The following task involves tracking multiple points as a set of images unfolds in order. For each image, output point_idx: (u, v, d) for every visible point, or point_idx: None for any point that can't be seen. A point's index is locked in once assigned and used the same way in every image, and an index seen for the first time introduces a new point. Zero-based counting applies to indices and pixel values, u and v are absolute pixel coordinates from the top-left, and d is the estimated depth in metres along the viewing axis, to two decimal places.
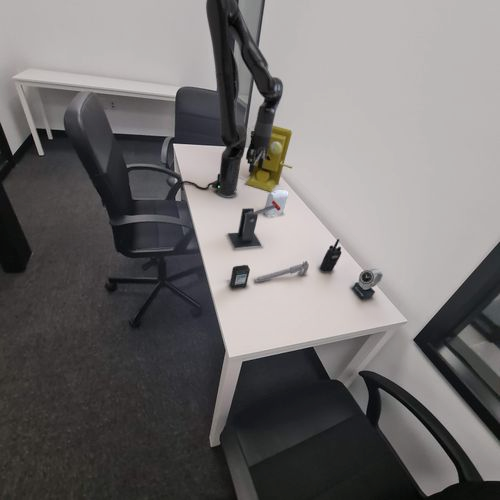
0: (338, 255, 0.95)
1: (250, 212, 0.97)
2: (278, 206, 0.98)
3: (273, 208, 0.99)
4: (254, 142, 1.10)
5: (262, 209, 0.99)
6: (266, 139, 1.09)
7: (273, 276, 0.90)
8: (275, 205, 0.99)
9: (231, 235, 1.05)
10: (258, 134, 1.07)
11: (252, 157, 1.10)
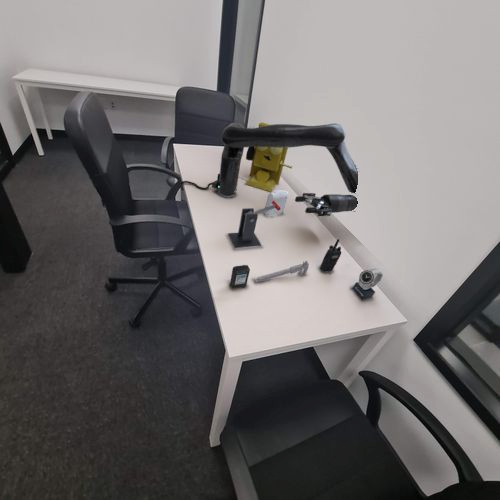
0: (338, 255, 0.95)
1: (250, 212, 0.97)
2: (278, 206, 0.98)
3: (273, 208, 0.99)
4: (332, 205, 1.05)
5: (262, 209, 0.99)
6: (330, 212, 1.10)
7: (273, 276, 0.90)
8: (275, 205, 0.99)
9: (231, 235, 1.05)
10: (339, 208, 1.07)
11: (325, 214, 1.02)
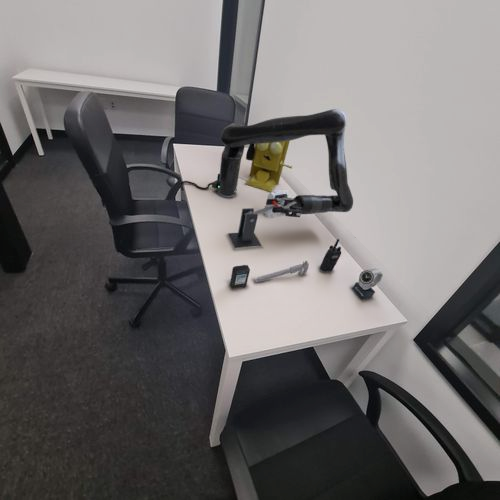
0: (338, 255, 0.95)
1: (250, 212, 0.97)
2: (278, 206, 0.98)
3: None
4: (305, 206, 1.00)
5: (262, 209, 0.99)
6: None
7: (273, 276, 0.90)
8: (275, 205, 0.99)
9: (231, 235, 1.05)
10: (312, 209, 1.02)
11: (293, 215, 0.97)
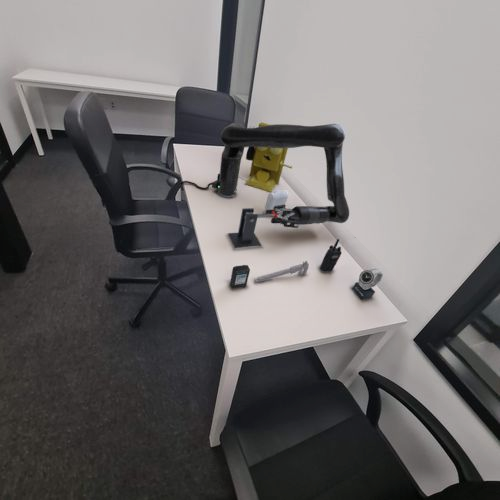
0: (338, 255, 0.95)
1: (251, 212, 0.98)
2: None
3: (272, 217, 1.02)
4: (303, 217, 1.04)
5: (262, 214, 1.00)
6: (302, 224, 1.08)
7: (273, 276, 0.90)
8: (275, 215, 1.02)
9: (231, 235, 1.05)
10: (310, 220, 1.06)
11: (291, 226, 1.01)
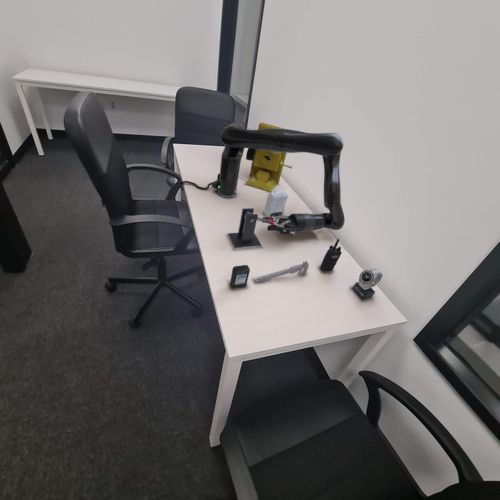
0: (338, 255, 0.95)
1: (252, 213, 0.98)
2: None
3: (269, 223, 1.03)
4: (298, 225, 1.06)
5: (261, 218, 1.01)
6: None
7: (273, 276, 0.90)
8: (272, 222, 1.03)
9: (231, 235, 1.05)
10: (305, 227, 1.08)
11: (287, 233, 1.02)
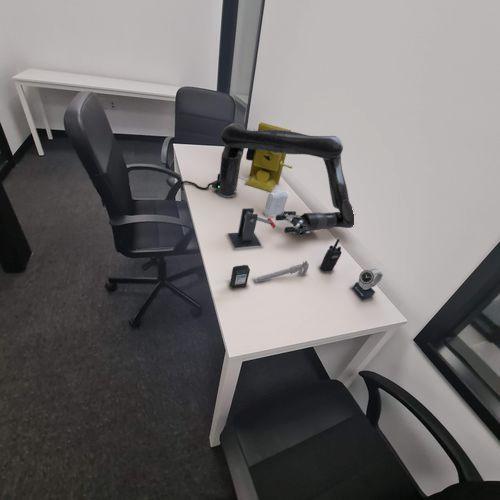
0: (338, 255, 0.95)
1: (252, 213, 0.98)
2: (274, 224, 1.03)
3: (268, 223, 1.03)
4: (311, 224, 1.08)
5: (261, 218, 1.01)
6: (311, 230, 1.12)
7: (273, 276, 0.90)
8: (272, 222, 1.04)
9: (231, 235, 1.05)
10: (318, 226, 1.10)
11: (304, 234, 1.05)
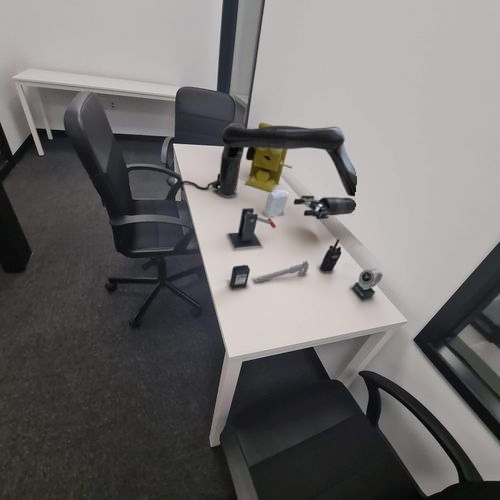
0: (338, 255, 0.95)
1: (252, 213, 0.98)
2: (274, 224, 1.03)
3: (268, 223, 1.03)
4: (330, 208, 1.06)
5: (261, 218, 1.01)
6: None
7: (273, 276, 0.90)
8: (272, 222, 1.04)
9: (231, 235, 1.05)
10: (337, 211, 1.08)
11: (323, 217, 1.03)
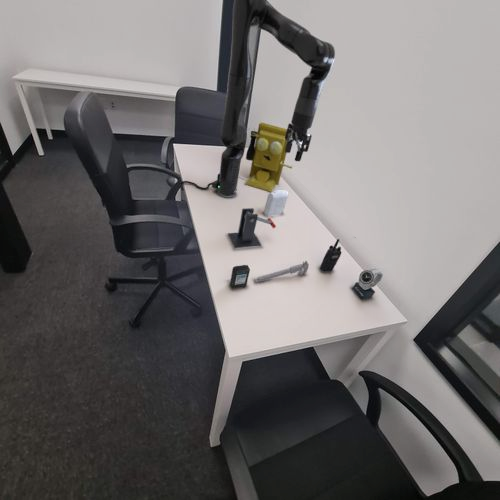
0: (338, 255, 0.95)
1: (252, 213, 0.98)
2: (274, 224, 1.03)
3: (268, 223, 1.03)
4: (303, 125, 0.93)
5: (261, 218, 1.01)
6: (313, 118, 0.94)
7: (273, 276, 0.90)
8: (272, 222, 1.04)
9: (231, 235, 1.05)
10: (309, 114, 0.91)
11: (308, 143, 0.94)
